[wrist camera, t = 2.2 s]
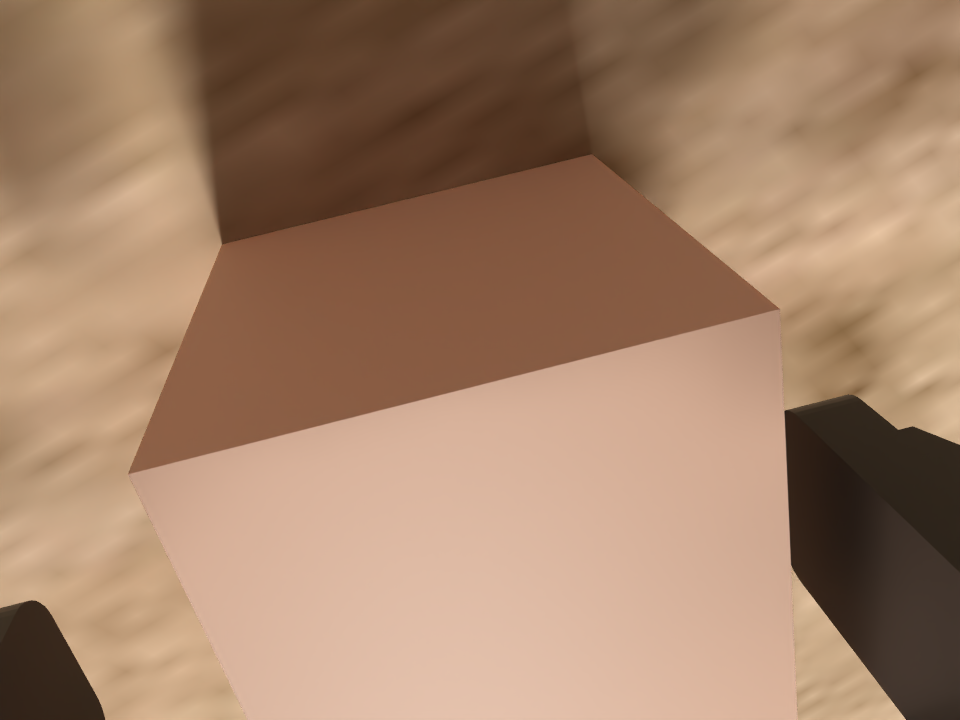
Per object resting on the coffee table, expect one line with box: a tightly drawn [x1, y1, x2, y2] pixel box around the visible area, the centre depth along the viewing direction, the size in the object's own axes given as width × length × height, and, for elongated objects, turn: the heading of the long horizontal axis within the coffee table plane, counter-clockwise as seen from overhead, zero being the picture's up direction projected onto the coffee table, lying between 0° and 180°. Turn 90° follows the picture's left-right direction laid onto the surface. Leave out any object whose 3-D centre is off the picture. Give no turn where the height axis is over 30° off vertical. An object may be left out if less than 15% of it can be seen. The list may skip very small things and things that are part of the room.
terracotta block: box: [128, 154, 798, 720], centre depth 11 cm, size 6×6×6 cm
